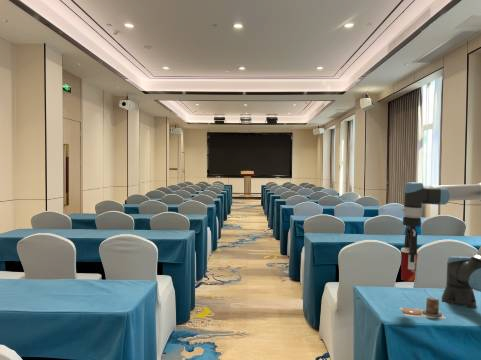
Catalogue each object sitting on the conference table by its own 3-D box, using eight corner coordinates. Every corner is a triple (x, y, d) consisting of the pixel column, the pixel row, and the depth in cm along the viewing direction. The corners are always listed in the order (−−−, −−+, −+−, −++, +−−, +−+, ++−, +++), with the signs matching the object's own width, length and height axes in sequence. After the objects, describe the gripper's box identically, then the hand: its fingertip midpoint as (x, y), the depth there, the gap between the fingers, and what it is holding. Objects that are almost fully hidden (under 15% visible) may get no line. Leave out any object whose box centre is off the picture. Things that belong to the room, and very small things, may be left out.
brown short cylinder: (436, 311, 198) (437, 297, 198) (439, 315, 193) (440, 301, 193) (424, 310, 199) (425, 297, 199) (427, 314, 194) (428, 300, 194)
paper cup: (418, 282, 196) (420, 250, 195) (399, 280, 197) (401, 249, 197) (415, 278, 203) (417, 248, 203) (398, 277, 205) (399, 246, 205)
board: (438, 313, 201) (438, 310, 201) (446, 321, 190) (446, 318, 190) (399, 310, 203) (399, 307, 203) (404, 318, 192) (404, 315, 192)
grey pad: (438, 311, 200) (438, 310, 199) (444, 317, 192) (444, 316, 192) (420, 310, 201) (420, 309, 201) (425, 316, 193) (425, 314, 193)
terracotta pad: (418, 310, 201) (418, 309, 201) (423, 315, 193) (423, 314, 193) (400, 308, 202) (400, 307, 202) (404, 314, 194) (404, 313, 194)
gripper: (399, 213, 210) (396, 261, 211) (407, 218, 190) (404, 271, 191) (415, 214, 209) (413, 263, 210) (426, 219, 189) (423, 273, 189)
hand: (409, 267), depth 200 cm, fingers closed on paper cup, 8 cm apart
